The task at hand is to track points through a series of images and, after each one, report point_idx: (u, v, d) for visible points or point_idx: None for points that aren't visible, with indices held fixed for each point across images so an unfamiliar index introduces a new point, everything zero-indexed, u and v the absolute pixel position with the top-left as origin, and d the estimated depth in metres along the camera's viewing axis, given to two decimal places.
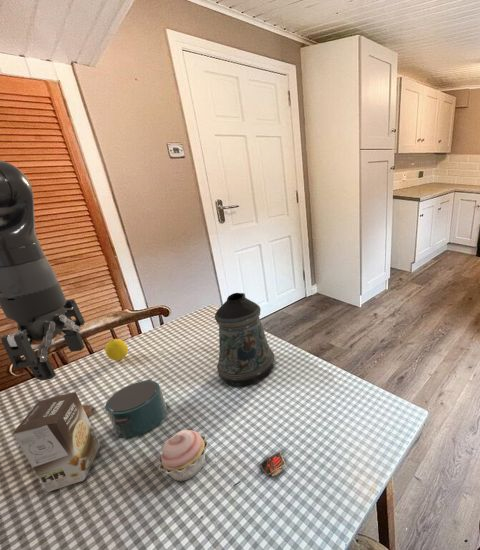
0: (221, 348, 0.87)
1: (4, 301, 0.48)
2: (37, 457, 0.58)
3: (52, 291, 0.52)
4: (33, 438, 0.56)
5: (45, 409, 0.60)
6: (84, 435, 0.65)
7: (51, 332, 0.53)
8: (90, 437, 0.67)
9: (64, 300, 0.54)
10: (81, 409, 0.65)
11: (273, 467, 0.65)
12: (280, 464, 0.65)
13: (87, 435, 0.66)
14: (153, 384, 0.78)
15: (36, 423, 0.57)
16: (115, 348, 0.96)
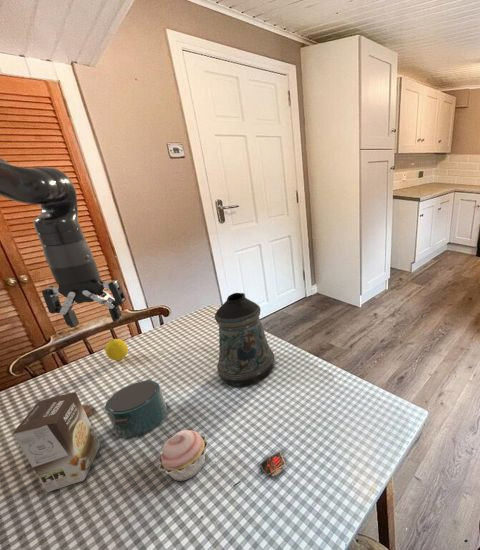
0: (221, 348, 0.87)
1: None
2: (37, 457, 0.58)
3: (60, 271, 0.65)
4: (33, 438, 0.56)
5: (45, 409, 0.60)
6: (84, 435, 0.65)
7: (71, 298, 0.69)
8: (90, 437, 0.67)
9: (74, 281, 0.67)
10: (81, 409, 0.65)
11: (273, 467, 0.65)
12: (280, 464, 0.65)
13: (87, 435, 0.66)
14: (153, 384, 0.78)
15: (35, 423, 0.57)
16: (115, 348, 0.96)
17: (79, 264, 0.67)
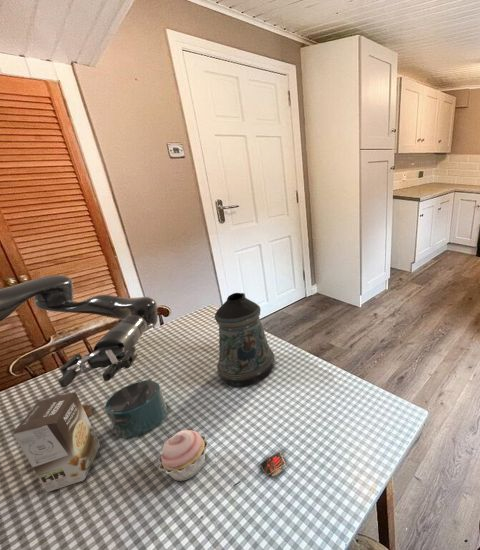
0: (221, 348, 0.87)
1: None
2: (37, 457, 0.58)
3: (109, 333, 0.82)
4: (33, 438, 0.56)
5: (45, 409, 0.60)
6: (84, 435, 0.65)
7: (91, 356, 0.76)
8: (90, 437, 0.67)
9: (111, 337, 0.80)
10: (81, 409, 0.65)
11: (273, 467, 0.65)
12: (280, 464, 0.65)
13: (87, 435, 0.66)
14: (153, 384, 0.78)
15: (35, 423, 0.57)
16: None
17: (126, 332, 0.84)
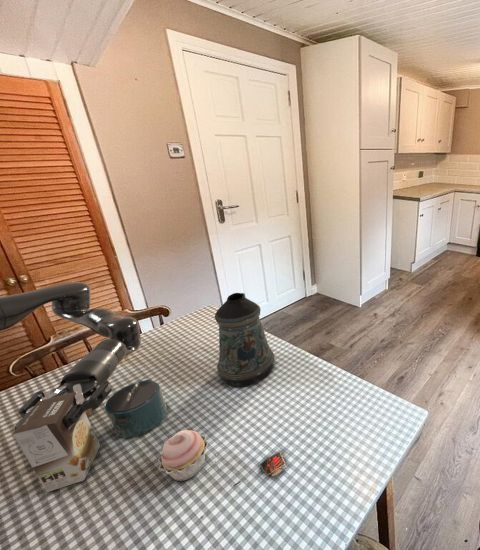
0: (221, 348, 0.87)
1: None
2: (37, 457, 0.58)
3: (80, 363, 0.71)
4: (32, 438, 0.56)
5: (45, 409, 0.60)
6: (84, 435, 0.65)
7: (56, 392, 0.65)
8: (90, 437, 0.67)
9: (82, 369, 0.69)
10: None
11: (273, 467, 0.65)
12: (280, 464, 0.65)
13: (87, 435, 0.66)
14: (153, 384, 0.78)
15: (35, 423, 0.57)
16: None
17: (100, 361, 0.73)
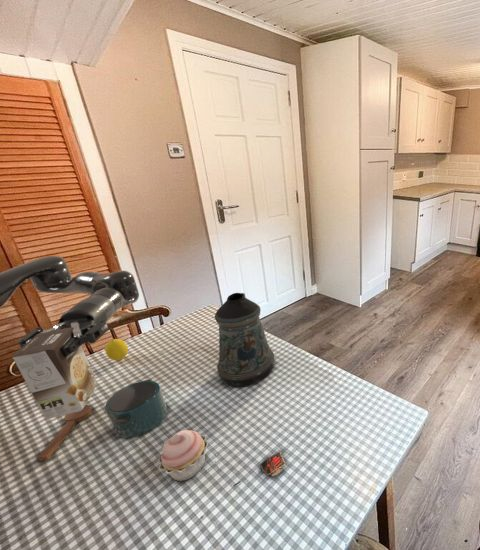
0: (221, 348, 0.87)
1: None
2: (36, 383, 0.60)
3: (77, 304, 0.73)
4: (31, 363, 0.59)
5: (44, 339, 0.62)
6: (82, 369, 0.67)
7: (54, 328, 0.67)
8: (87, 373, 0.69)
9: (79, 309, 0.71)
10: None
11: (273, 467, 0.65)
12: (280, 464, 0.65)
13: (85, 370, 0.68)
14: (153, 384, 0.78)
15: (34, 349, 0.59)
16: (115, 348, 0.96)
17: (97, 304, 0.75)
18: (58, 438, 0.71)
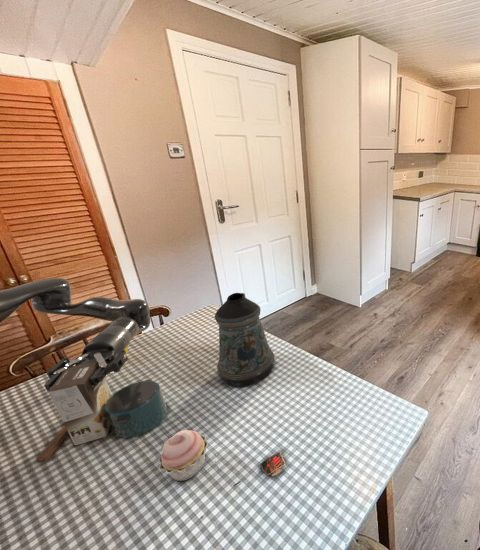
0: (221, 348, 0.87)
1: None
2: (67, 413, 0.68)
3: (99, 335, 0.80)
4: (64, 396, 0.66)
5: (74, 373, 0.70)
6: (106, 398, 0.75)
7: (79, 359, 0.74)
8: None
9: (101, 340, 0.78)
10: None
11: (273, 467, 0.65)
12: (280, 464, 0.65)
13: (108, 399, 0.76)
14: (153, 384, 0.78)
15: (66, 383, 0.67)
16: None
17: (116, 335, 0.82)
18: (58, 438, 0.71)
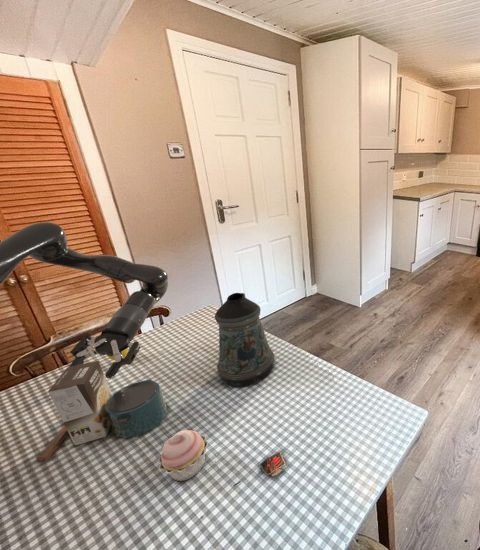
0: (221, 348, 0.87)
1: None
2: (67, 413, 0.68)
3: (116, 318, 0.86)
4: (64, 396, 0.66)
5: (74, 373, 0.70)
6: (106, 398, 0.75)
7: (98, 344, 0.82)
8: None
9: (117, 327, 0.85)
10: (103, 376, 0.75)
11: (273, 467, 0.65)
12: (280, 464, 0.65)
13: (108, 399, 0.76)
14: (153, 384, 0.78)
15: (66, 383, 0.67)
16: None
17: (132, 320, 0.88)
18: (58, 438, 0.71)
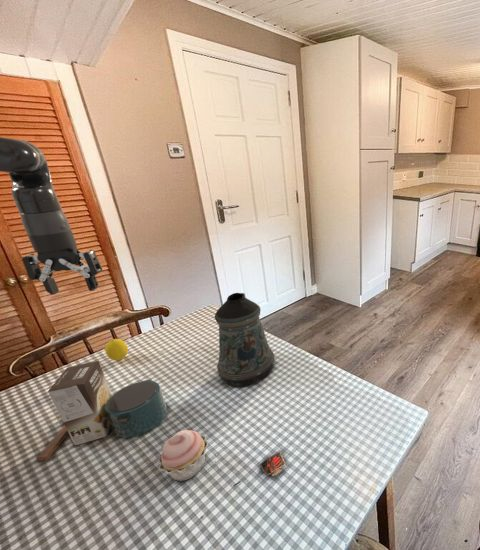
0: (221, 348, 0.87)
1: None
2: (67, 413, 0.68)
3: (36, 239, 0.69)
4: (64, 396, 0.66)
5: (74, 373, 0.70)
6: (106, 398, 0.75)
7: (49, 266, 0.73)
8: None
9: (49, 249, 0.71)
10: (103, 376, 0.75)
11: (273, 467, 0.65)
12: (280, 464, 0.65)
13: (108, 399, 0.76)
14: (153, 384, 0.78)
15: (66, 383, 0.67)
16: (115, 348, 0.96)
17: (54, 233, 0.70)
18: (58, 438, 0.71)
